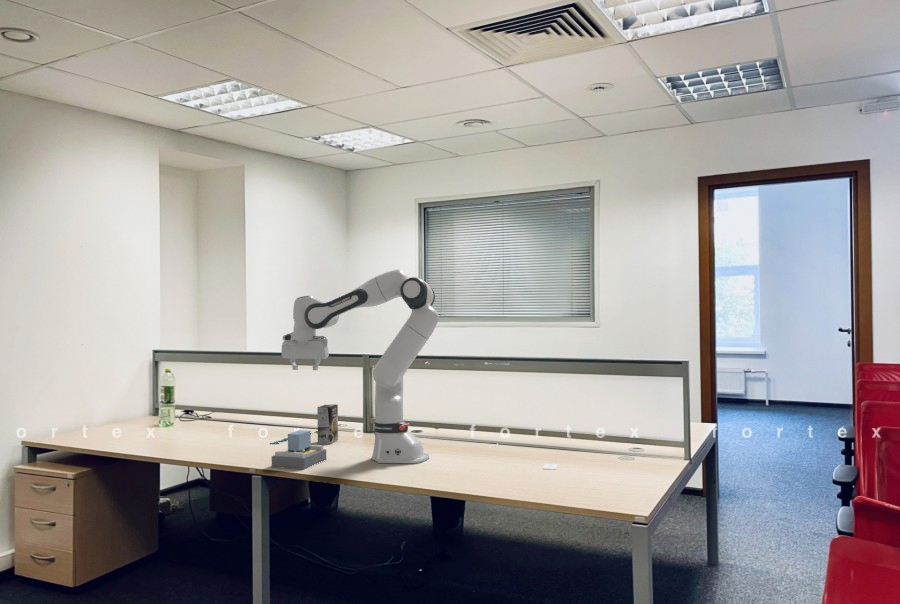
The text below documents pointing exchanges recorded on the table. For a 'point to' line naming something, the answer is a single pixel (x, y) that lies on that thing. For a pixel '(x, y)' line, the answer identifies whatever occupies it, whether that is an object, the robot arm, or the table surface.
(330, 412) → the coffee box
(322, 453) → the dock
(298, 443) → the cart
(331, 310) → the robot arm
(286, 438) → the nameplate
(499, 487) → the table surface
